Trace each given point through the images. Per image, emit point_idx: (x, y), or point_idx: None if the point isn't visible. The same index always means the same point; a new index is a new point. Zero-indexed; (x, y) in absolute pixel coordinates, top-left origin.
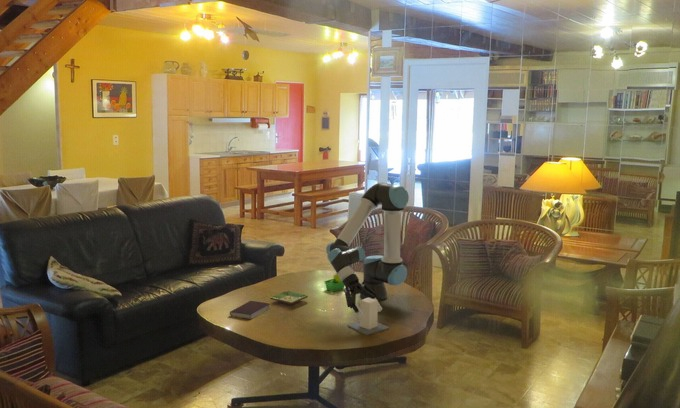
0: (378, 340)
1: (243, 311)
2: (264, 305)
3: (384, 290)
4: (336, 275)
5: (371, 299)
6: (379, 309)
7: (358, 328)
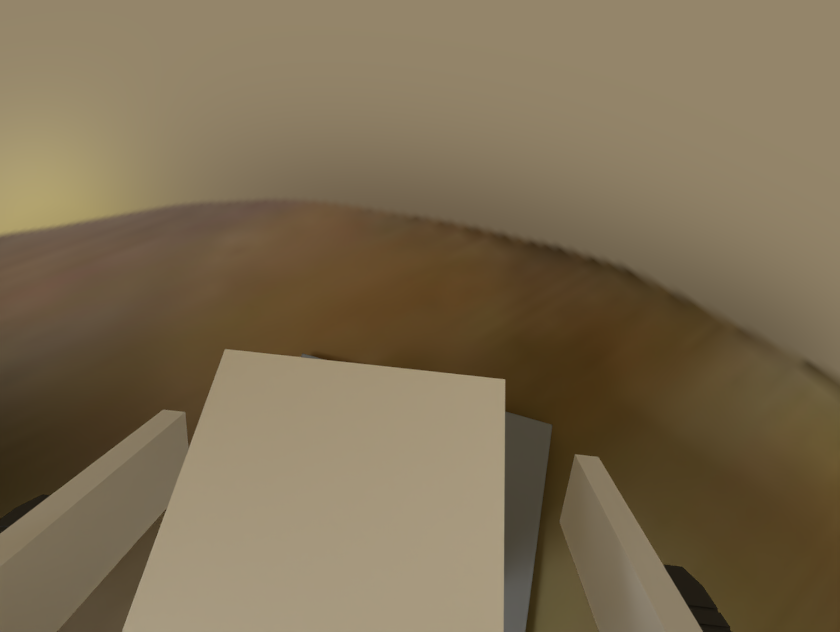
0: (558, 302)
1: None
2: None
3: None
4: None
5: (238, 502)
6: (175, 455)
7: None
